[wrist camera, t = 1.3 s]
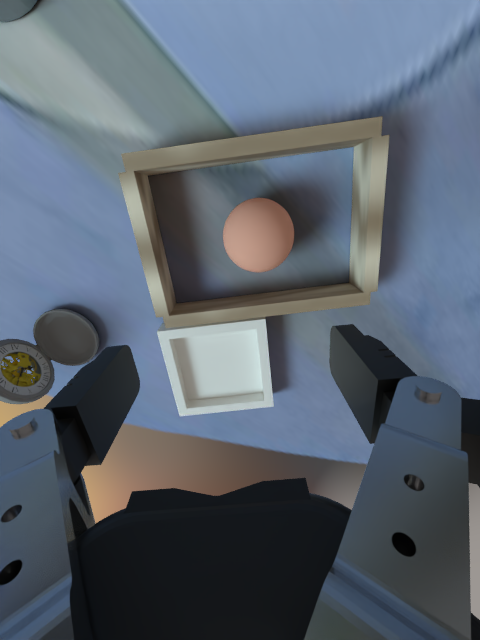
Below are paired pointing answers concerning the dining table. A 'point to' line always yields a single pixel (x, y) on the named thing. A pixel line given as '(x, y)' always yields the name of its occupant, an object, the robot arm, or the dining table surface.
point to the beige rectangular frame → (251, 148)
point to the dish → (218, 366)
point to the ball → (258, 235)
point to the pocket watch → (45, 354)
